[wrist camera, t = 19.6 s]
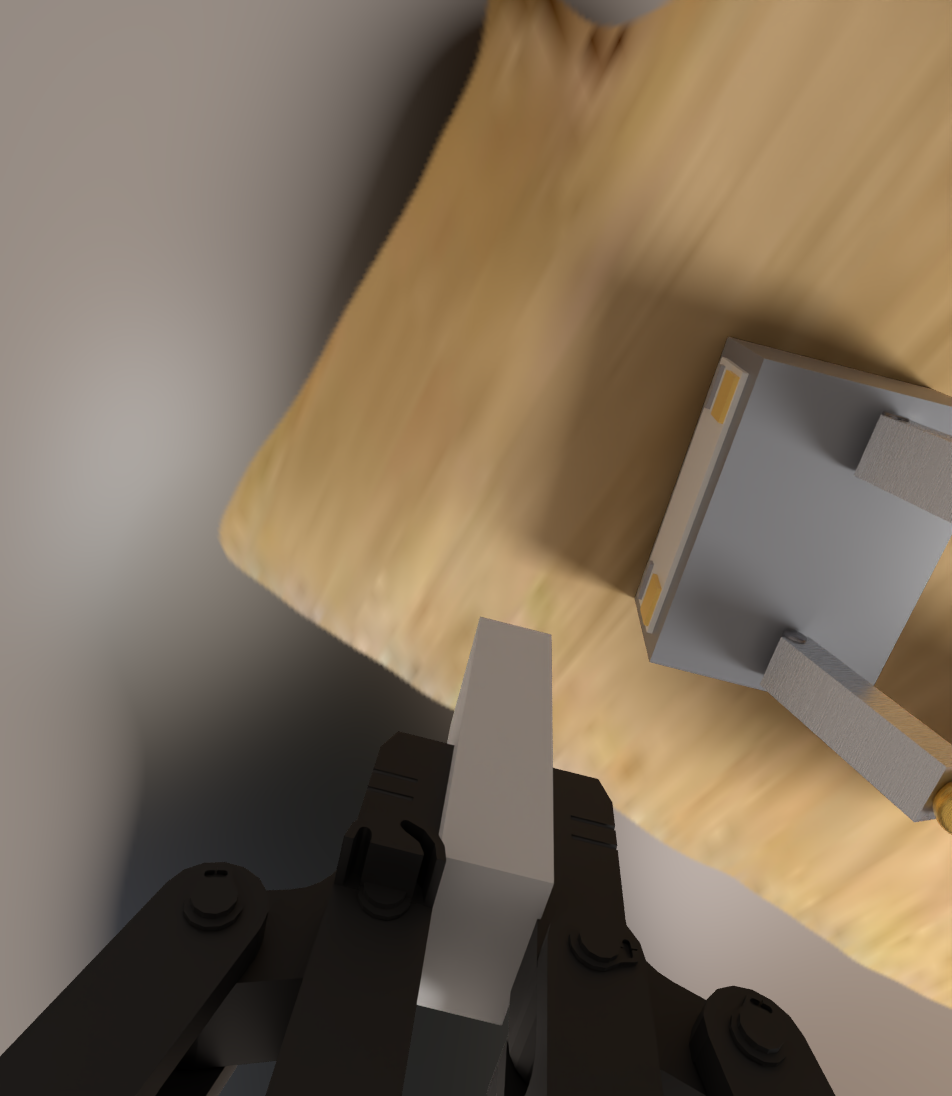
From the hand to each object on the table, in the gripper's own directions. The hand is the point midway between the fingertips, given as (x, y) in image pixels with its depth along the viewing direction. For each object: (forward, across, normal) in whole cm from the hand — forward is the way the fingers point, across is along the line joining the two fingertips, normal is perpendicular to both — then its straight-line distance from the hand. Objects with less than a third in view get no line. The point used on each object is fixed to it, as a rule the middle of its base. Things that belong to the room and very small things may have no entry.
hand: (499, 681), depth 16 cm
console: (+32, +16, -3) cm, 36 cm away
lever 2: (+24, +16, -9) cm, 30 cm away
